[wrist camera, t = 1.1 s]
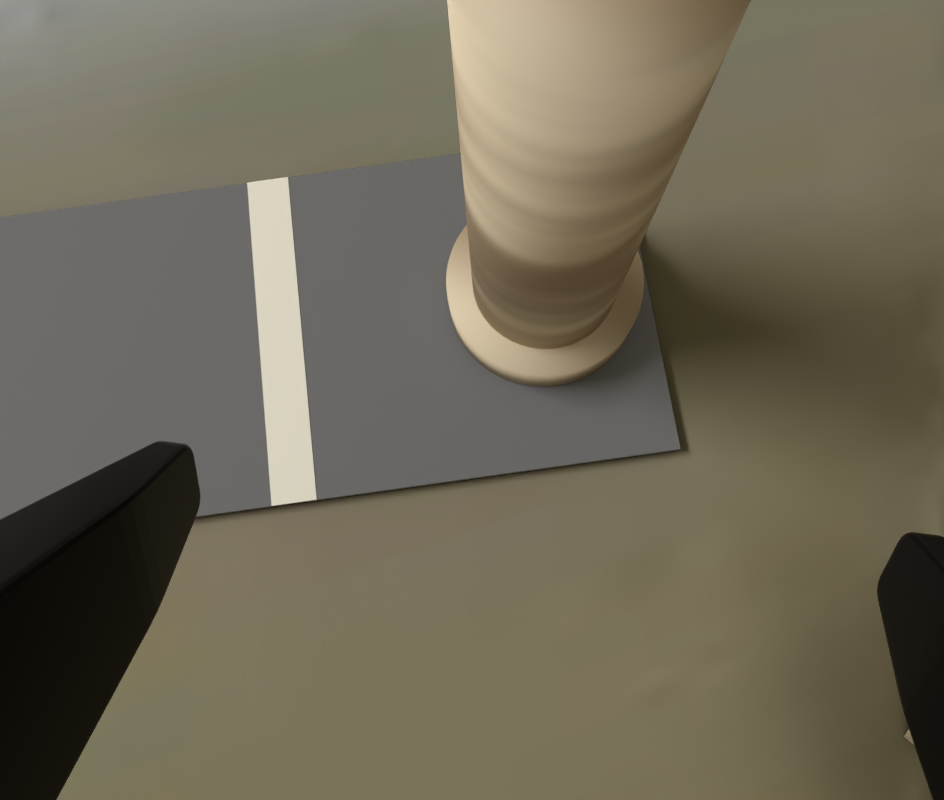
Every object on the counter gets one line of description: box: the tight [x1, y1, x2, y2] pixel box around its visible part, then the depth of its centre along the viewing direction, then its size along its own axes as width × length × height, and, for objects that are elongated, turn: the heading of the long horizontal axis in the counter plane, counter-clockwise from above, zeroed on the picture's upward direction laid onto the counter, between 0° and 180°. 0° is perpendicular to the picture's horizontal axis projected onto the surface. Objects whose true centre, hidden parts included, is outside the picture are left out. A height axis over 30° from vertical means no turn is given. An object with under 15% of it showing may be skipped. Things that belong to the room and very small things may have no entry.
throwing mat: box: [0, 153, 680, 519], centre depth 24 cm, size 24×11×1 cm, turn 98°
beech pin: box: [446, 0, 750, 387], centre depth 17 cm, size 6×6×14 cm
